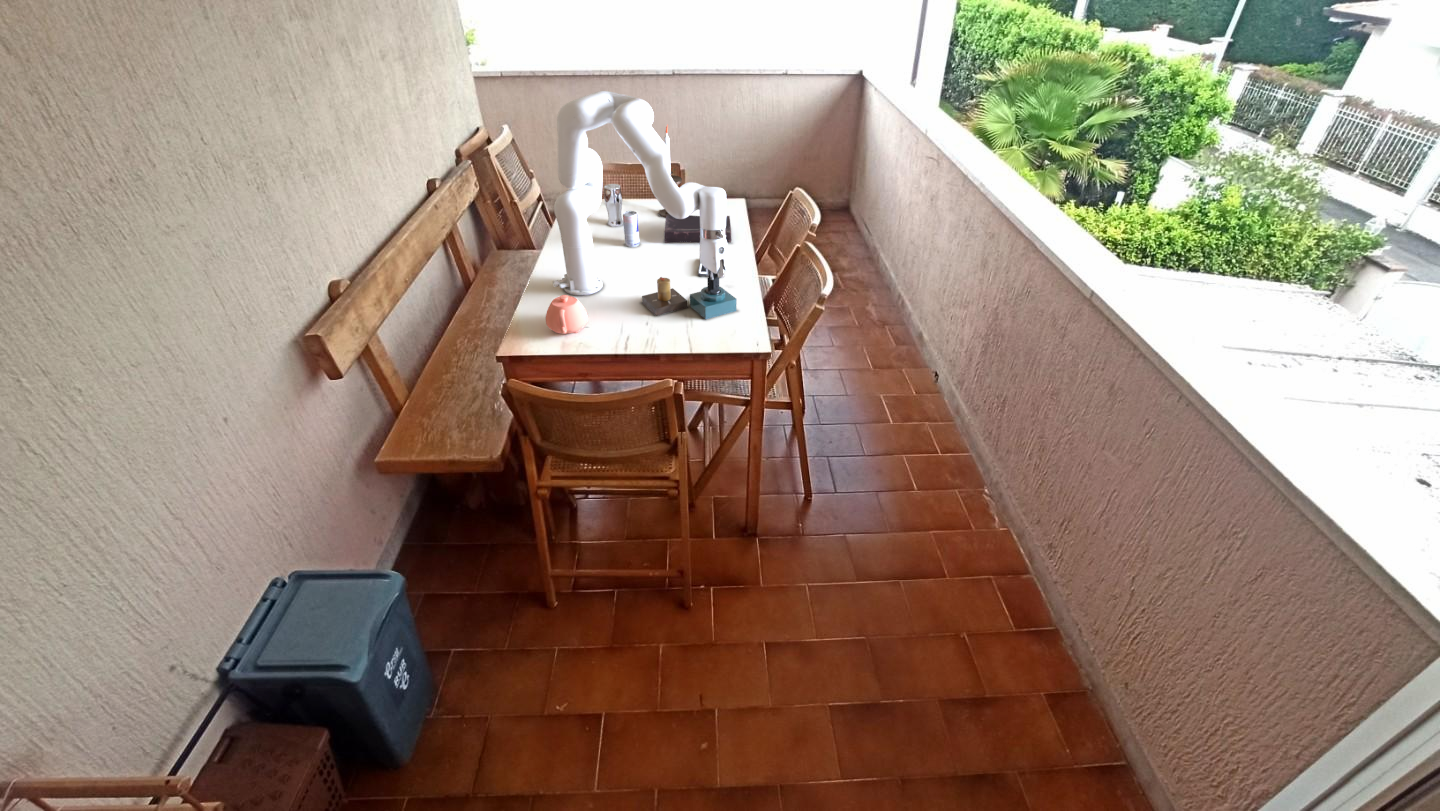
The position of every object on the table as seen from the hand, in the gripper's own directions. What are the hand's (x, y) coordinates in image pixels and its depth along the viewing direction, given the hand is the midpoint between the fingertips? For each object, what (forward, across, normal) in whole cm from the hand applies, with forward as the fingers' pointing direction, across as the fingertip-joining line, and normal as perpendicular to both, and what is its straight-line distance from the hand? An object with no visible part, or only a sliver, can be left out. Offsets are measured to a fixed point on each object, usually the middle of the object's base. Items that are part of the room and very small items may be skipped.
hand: (713, 289), depth 196 cm
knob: (+4, +10, +12) cm, 16 cm away
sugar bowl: (+6, +11, +44) cm, 45 cm away
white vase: (+6, +83, -2) cm, 83 cm away
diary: (+7, +56, -25) cm, 61 cm away
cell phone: (+6, +27, -14) cm, 31 cm away
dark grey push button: (+2, 0, 0) cm, 2 cm away
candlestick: (+6, +82, -26) cm, 86 cm away
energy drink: (+6, +60, +1) cm, 60 cm away
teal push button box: (+6, 0, 0) cm, 7 cm away
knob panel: (+6, +10, +12) cm, 17 cm away
